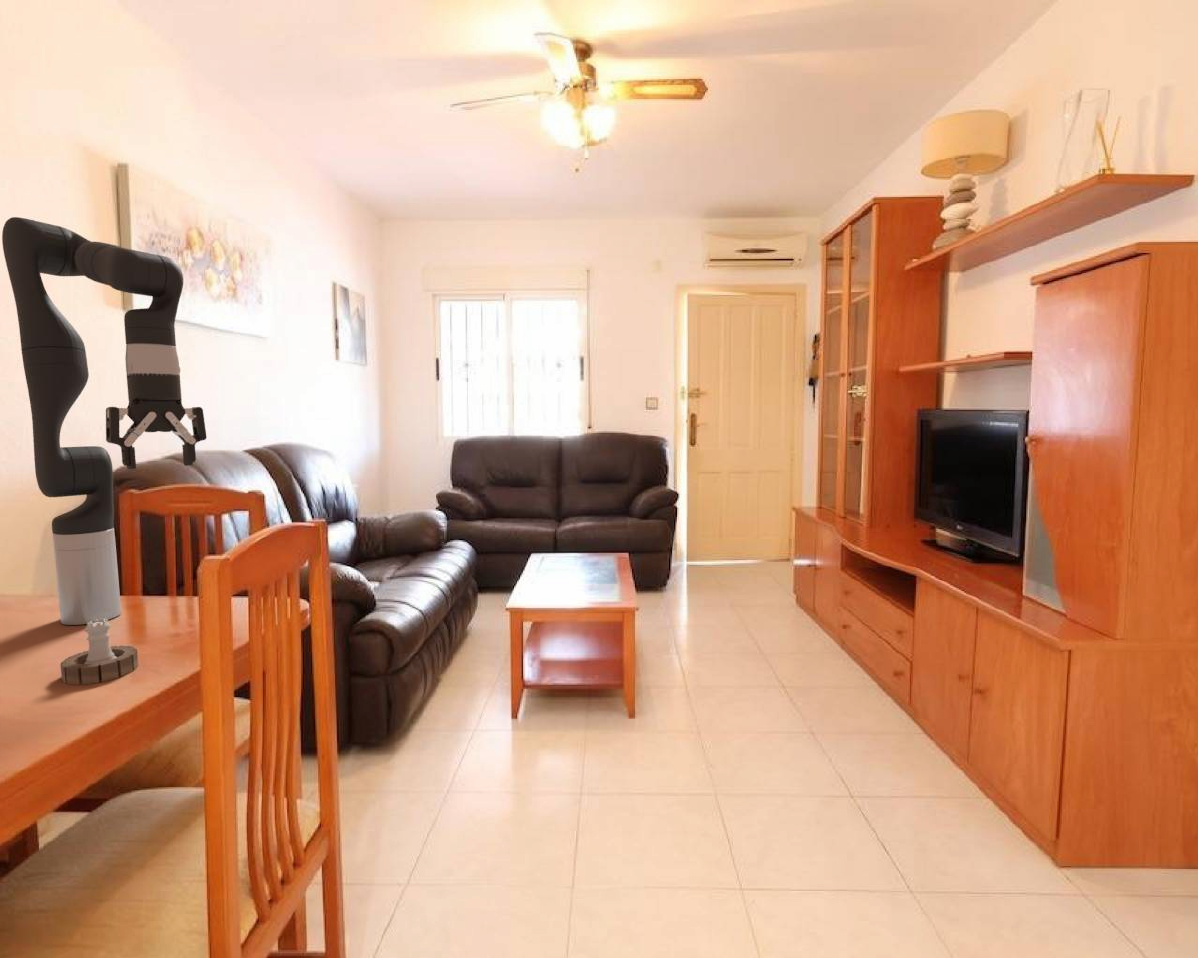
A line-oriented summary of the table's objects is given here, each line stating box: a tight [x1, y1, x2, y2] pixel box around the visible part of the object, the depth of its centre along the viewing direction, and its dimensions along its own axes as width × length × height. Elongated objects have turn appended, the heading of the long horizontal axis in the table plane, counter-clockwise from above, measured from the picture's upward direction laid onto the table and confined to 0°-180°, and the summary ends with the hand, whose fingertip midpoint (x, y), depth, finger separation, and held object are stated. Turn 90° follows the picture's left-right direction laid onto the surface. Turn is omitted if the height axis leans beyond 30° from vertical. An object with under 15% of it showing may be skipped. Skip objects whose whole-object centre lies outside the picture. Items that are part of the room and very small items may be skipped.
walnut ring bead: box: [60, 645, 139, 686], centre depth 98 cm, size 9×9×2 cm
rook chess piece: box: [83, 619, 117, 664], centre depth 98 cm, size 4×4×8 cm
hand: (160, 467), depth 111 cm, fingers open, 8 cm apart
